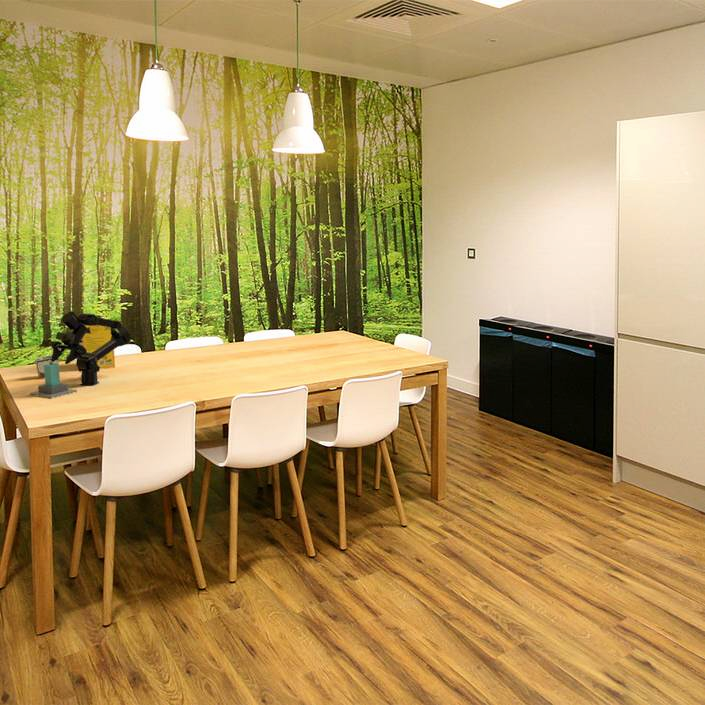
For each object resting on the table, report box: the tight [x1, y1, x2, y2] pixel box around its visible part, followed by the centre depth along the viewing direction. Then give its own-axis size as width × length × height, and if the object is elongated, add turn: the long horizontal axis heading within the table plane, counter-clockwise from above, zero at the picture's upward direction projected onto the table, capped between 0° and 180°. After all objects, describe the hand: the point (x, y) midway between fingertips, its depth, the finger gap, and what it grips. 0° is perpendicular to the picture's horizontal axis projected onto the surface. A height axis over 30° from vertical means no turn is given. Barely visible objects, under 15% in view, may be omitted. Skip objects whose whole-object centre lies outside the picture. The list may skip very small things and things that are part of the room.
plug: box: [44, 361, 61, 387], centre depth 313 cm, size 4×4×14 cm
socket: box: [29, 382, 78, 399], centre depth 314 cm, size 14×14×4 cm
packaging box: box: [76, 317, 116, 369], centre depth 372 cm, size 16×16×25 cm
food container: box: [34, 355, 60, 380], centre depth 348 cm, size 12×6×10 cm, turn 141°
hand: (58, 362), depth 316 cm, fingers open, 9 cm apart
